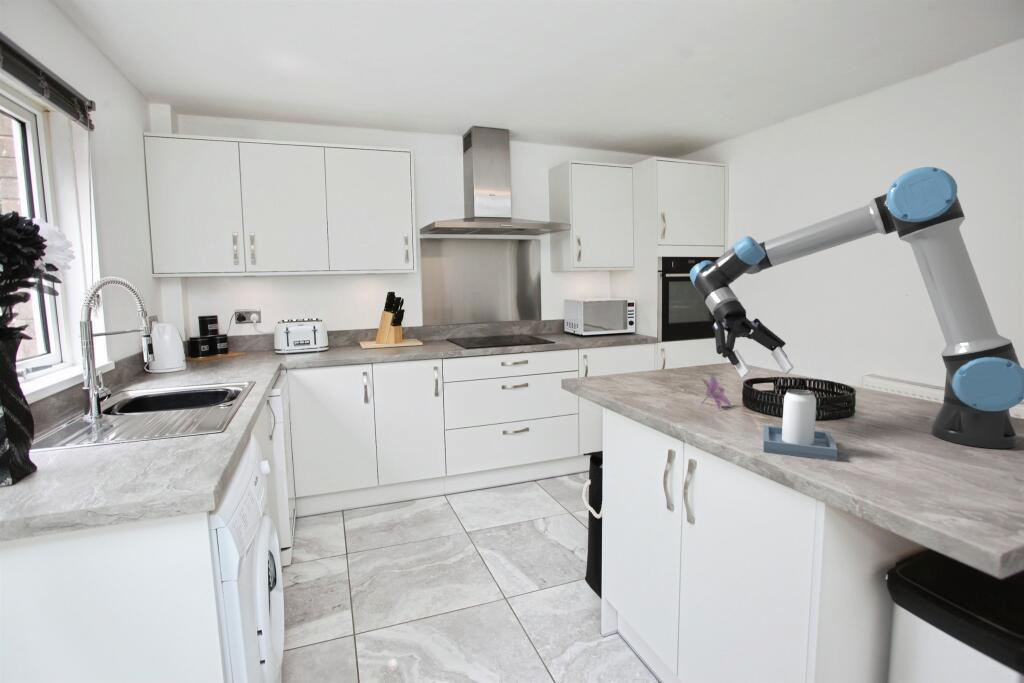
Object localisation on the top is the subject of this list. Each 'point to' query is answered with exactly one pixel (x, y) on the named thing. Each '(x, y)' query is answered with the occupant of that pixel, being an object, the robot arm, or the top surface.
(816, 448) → the tray
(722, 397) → the lily
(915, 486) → the top surface
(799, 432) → the can
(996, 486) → the top surface
